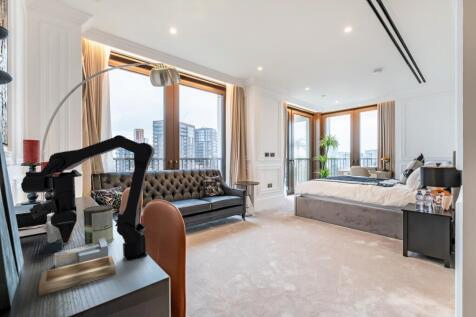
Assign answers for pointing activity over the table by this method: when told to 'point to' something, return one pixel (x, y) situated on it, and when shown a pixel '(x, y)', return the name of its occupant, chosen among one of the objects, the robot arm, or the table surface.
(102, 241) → the bracket
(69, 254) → the steel block
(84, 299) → the table surface
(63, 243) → the cup
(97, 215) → the coffee can
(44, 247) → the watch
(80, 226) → the table surface
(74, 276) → the oak tray
